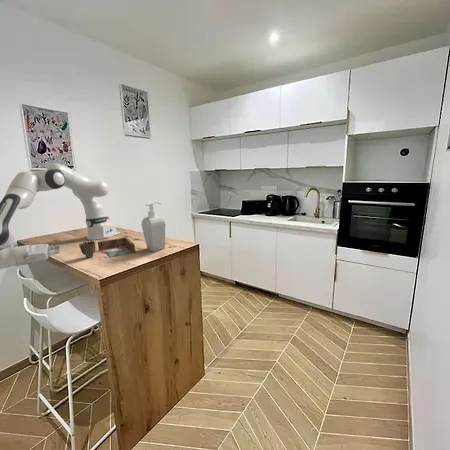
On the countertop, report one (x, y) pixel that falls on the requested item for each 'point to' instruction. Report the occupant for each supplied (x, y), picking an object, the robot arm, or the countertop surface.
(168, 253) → the countertop surface
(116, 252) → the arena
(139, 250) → the countertop surface
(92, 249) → the cup
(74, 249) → the countertop surface
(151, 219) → the soap bottle
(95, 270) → the countertop surface
